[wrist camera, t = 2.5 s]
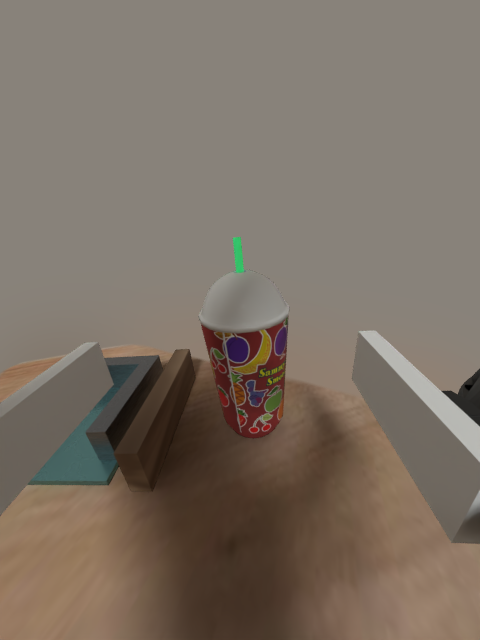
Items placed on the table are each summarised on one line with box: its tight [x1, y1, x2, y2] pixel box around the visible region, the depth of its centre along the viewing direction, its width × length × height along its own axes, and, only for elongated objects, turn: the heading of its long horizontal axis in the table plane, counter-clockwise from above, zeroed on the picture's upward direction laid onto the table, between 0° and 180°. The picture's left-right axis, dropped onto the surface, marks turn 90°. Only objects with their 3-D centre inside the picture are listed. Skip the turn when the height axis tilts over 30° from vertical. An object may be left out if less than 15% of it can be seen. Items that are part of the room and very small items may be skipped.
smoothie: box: [198, 237, 290, 438], centre depth 23 cm, size 8×8×20 cm
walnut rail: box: [114, 349, 195, 491], centre depth 27 cm, size 2×16×5 cm, turn 176°
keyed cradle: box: [27, 355, 163, 485], centre depth 28 cm, size 15×15×4 cm
